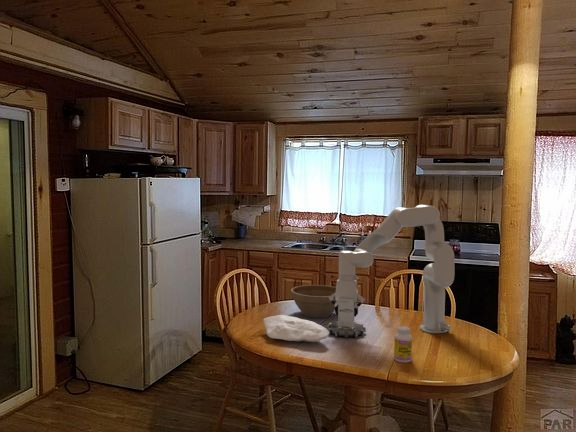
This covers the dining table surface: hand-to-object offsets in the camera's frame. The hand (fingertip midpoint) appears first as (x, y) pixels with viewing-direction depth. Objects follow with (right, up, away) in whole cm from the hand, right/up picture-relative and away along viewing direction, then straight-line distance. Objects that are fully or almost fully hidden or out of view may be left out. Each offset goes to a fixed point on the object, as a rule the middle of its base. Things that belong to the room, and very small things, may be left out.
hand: (346, 315), depth 218 cm
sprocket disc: (0, -8, +1) cm, 8 cm away
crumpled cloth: (-23, -9, -7) cm, 26 cm away
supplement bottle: (+18, -11, -33) cm, 39 cm away
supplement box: (0, -5, 0) cm, 5 cm away
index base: (-3, -8, +4) cm, 10 cm away
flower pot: (-11, -6, +31) cm, 34 cm away
